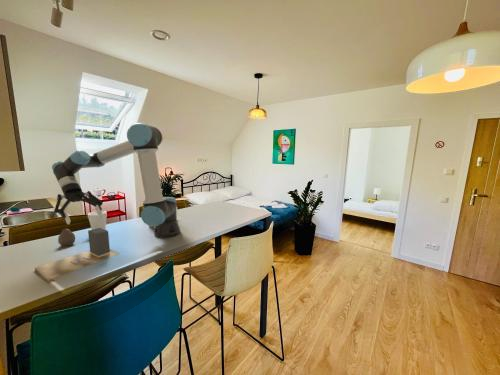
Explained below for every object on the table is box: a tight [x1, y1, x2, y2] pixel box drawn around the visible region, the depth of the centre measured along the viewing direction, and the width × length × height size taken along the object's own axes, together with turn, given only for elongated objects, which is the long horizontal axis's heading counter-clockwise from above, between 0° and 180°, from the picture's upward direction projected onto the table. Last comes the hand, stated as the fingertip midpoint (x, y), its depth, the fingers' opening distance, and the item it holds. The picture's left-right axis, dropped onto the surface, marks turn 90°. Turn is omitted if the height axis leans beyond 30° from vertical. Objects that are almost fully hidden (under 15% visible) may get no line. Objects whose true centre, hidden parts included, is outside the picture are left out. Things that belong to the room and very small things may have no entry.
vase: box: [57, 228, 76, 248], centre depth 113 cm, size 7×7×9 cm
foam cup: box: [87, 210, 108, 230], centre depth 130 cm, size 10×9×13 cm
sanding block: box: [87, 228, 111, 258], centre depth 101 cm, size 8×5×11 cm, turn 59°
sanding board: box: [34, 248, 120, 283], centre depth 95 cm, size 26×16×1 cm, turn 149°
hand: (86, 219), depth 105 cm, fingers open, 13 cm apart
